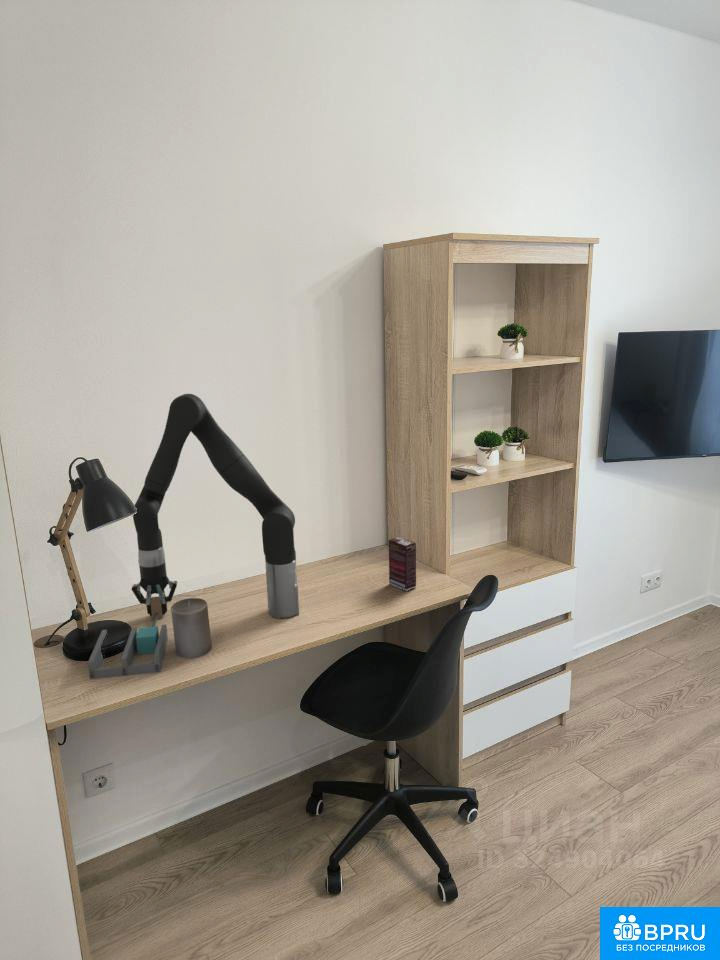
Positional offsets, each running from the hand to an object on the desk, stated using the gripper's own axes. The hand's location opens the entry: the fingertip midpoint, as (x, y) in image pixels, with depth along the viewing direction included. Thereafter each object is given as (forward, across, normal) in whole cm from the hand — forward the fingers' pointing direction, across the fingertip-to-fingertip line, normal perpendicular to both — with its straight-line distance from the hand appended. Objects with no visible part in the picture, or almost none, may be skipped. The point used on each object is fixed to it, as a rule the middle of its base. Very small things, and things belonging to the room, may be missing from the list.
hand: (157, 614), depth 212 cm
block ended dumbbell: (+1, 0, +11) cm, 11 cm away
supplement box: (+1, -78, -8) cm, 78 cm away
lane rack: (+1, +4, +25) cm, 25 cm away
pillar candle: (+1, -12, +23) cm, 26 cm away
